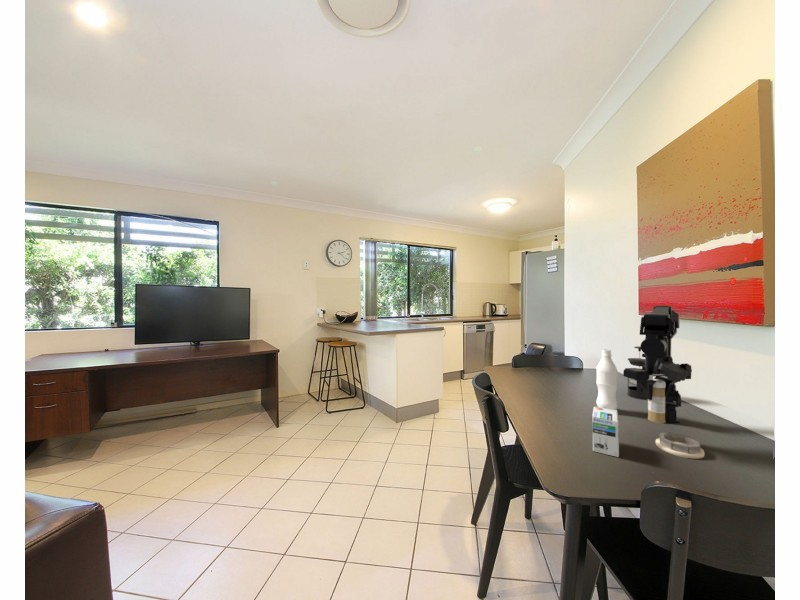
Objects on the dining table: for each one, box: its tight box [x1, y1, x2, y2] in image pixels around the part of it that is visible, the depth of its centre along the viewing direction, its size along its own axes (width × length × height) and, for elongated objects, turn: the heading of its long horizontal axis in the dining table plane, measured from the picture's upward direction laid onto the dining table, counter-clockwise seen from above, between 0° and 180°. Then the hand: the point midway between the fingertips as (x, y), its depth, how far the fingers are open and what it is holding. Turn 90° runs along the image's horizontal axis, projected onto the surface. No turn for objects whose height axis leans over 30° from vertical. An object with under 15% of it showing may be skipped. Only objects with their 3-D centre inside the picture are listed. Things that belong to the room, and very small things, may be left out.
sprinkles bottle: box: [647, 378, 666, 424], centre depth 99 cm, size 5×5×13 cm
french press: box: [627, 346, 654, 401], centre depth 139 cm, size 12×9×23 cm
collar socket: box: [655, 432, 706, 460], centre depth 93 cm, size 11×11×3 cm
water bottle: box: [595, 348, 619, 411], centre depth 123 cm, size 7×7×25 cm
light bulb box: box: [591, 406, 620, 458], centre depth 95 cm, size 11×7×11 cm, turn 145°
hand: (656, 399), depth 99 cm, fingers closed on sprinkles bottle, 4 cm apart
